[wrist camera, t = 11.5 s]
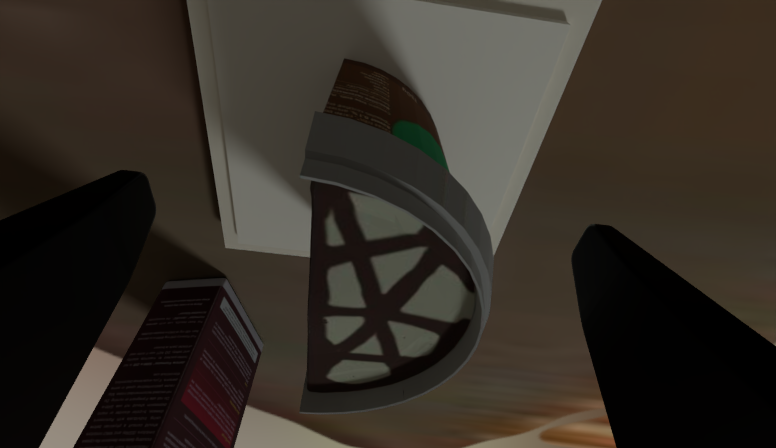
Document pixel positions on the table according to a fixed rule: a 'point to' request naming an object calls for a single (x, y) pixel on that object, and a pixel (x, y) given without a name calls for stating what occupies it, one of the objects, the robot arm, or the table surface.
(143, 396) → the supplement box
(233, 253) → the table surface
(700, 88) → the table surface
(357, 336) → the food container
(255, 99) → the white square tray
